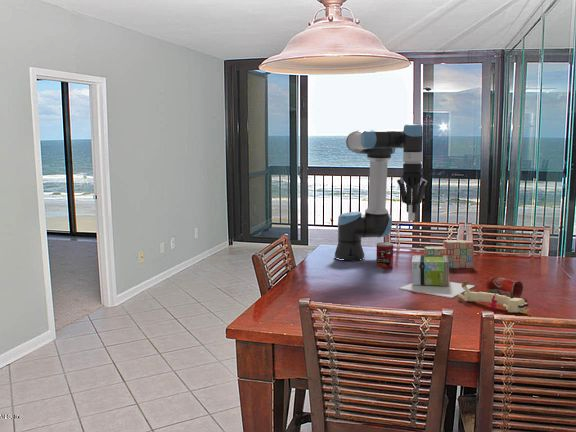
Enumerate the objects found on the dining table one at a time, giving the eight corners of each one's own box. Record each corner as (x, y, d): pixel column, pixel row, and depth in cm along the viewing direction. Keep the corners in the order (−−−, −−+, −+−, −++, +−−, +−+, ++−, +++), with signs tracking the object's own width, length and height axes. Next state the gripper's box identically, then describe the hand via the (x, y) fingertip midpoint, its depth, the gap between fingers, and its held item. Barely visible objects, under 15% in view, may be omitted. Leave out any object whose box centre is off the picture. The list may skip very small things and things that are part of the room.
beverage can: (494, 290, 217) (494, 274, 216) (523, 297, 208) (523, 279, 207) (483, 294, 213) (484, 277, 212) (512, 300, 203) (513, 282, 203)
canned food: (374, 267, 261) (374, 244, 260) (379, 264, 268) (379, 241, 267) (389, 269, 257) (390, 245, 256) (395, 265, 264) (395, 242, 263)
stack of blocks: (426, 268, 258) (427, 242, 257) (423, 265, 264) (424, 240, 263) (472, 268, 258) (473, 241, 257) (468, 265, 264) (469, 239, 263)
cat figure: (454, 306, 202) (520, 316, 182) (453, 282, 201) (519, 290, 182) (469, 301, 208) (535, 310, 189) (468, 278, 207) (534, 285, 188)
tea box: (411, 286, 225) (449, 286, 221) (410, 261, 224) (448, 261, 220) (413, 277, 239) (448, 277, 235) (412, 254, 238) (448, 254, 234)
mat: (399, 289, 221) (399, 288, 221) (424, 278, 238) (424, 277, 238) (451, 298, 207) (451, 297, 207) (474, 286, 223) (474, 285, 223)
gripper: (393, 162, 226) (392, 220, 229) (423, 163, 218) (421, 222, 221) (402, 162, 232) (401, 218, 235) (431, 162, 224) (430, 220, 227)
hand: (411, 220), depth 228 cm, fingers closed
